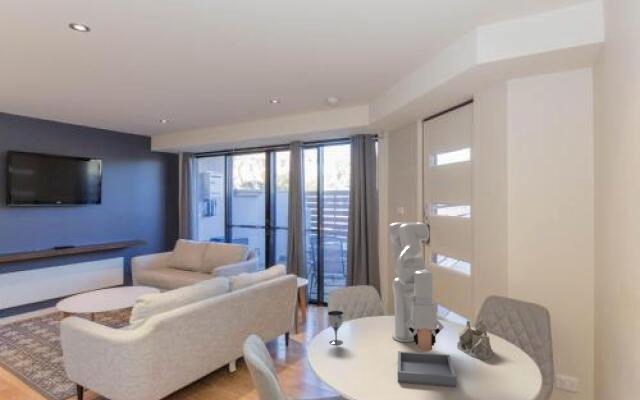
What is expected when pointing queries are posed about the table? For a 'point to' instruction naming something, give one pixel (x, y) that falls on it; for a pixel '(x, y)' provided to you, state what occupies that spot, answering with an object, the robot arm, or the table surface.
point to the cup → (424, 339)
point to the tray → (426, 369)
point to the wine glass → (335, 324)
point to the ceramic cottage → (475, 341)
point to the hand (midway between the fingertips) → (424, 343)
